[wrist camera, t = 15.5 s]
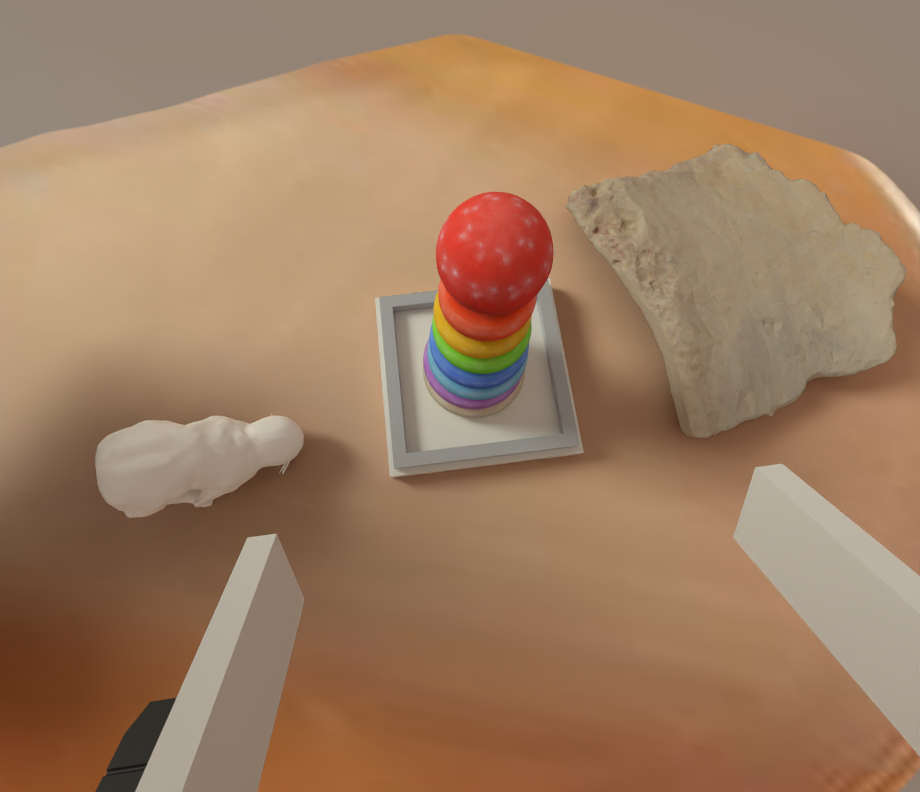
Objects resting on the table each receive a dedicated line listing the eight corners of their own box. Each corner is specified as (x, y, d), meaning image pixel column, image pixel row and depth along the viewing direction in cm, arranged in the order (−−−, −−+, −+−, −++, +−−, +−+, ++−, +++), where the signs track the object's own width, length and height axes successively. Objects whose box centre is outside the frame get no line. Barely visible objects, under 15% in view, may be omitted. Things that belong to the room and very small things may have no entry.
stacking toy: (511, 431, 33) (576, 347, 15) (412, 406, 34) (358, 296, 15) (531, 339, 35) (612, 164, 17) (438, 317, 35) (417, 122, 17)
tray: (392, 477, 34) (387, 476, 31) (378, 305, 37) (372, 292, 35) (578, 454, 34) (587, 451, 32) (546, 286, 38) (552, 271, 35)
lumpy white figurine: (70, 422, 26) (270, 373, 28) (154, 444, 34) (304, 405, 36) (78, 525, 25) (289, 466, 26) (164, 522, 33) (320, 477, 35)
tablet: (731, 155, 42) (552, 204, 39) (795, 84, 35) (583, 136, 32) (860, 375, 38) (671, 454, 34) (965, 346, 31) (739, 441, 27)
